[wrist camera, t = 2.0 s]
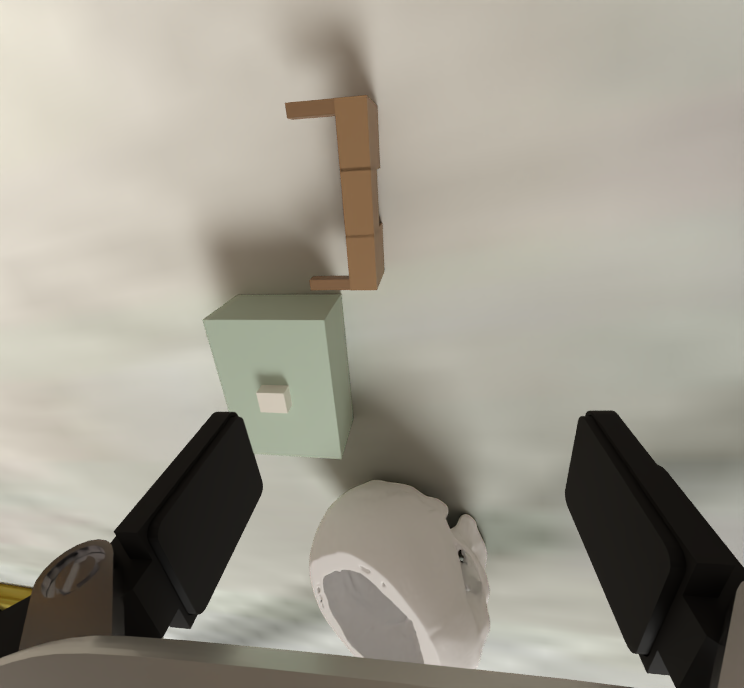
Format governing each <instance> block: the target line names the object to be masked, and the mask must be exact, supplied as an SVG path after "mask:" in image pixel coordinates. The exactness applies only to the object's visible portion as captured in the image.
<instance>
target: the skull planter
mask: <svg viewBox="0 0 744 688" xmlns="http://www.w3.org/2000/svg"><path fill="white" fill-rule="evenodd" d="M447 515H448V507H447V505H446V504H445V503H443V502H442V501H440V500H439V499H437V498H433V497H428V496H425V495H424V494H423V493H421V492H419V491H418V490H417V489H415V488H414V487H412V486H409V485H406V484H400V483H392V482H386V481H381V480H371V481H369V482H367V483H364V484H361V485H359V486H356V487H354V488H352V489H350V490H349V491H347V492H345V493H344V494H343V495H342V496H341V497H339V498H338V499H337V500H336V501H335V502H334V503H333V504H332V505H331V506H330V507H329V508H328V510H327V512H326V513H325V515H324V517H323V519H322V520H321V522H320V524H319V527H318V529H317V531H316V534H315V537H314V540H313V544H312V547H311V552H310V560H309V569H310V579H311V584H312V588H313V591H314V595H315V598H316V601H317V603H318V606H319V608H320V610H321V612H322V614H323V616H324V617H325V619H326V620H327V622H328V624H329V625H330V626H331V628H332V629H333V630H334V632H335V633H336V634H337V636H338V637H339V638H340V639H341V641H342V642H343V643H344V644H345V646H346V647H347V648H348V649H349V650H350V652H351V653H352V654H353V655H354V656H355V657H361V658H371V659H381V660H391V661H400V662H410V663H420V664H430V665H439V666H448V667H458V668H467V669H476V668H477V666H478V664H479V662H480V659H481V653H482V649H483V646H484V644H485V641H486V639H487V637H488V634H489V631H490V617H489V614H488V609H487V603H488V600H489V594H490V588H489V583H488V578H487V575H486V573H485V566H486V561H487V550H486V546H485V543H484V541H483V539H482V537H481V535H480V533H479V531H478V528H477V524H476V521H475V520H474V519H473V518H472V517H471V516H470V515H468V514H464V515H462V516H461V517H460V518H459V520H458V523H457V524H456V526H455V527H453V528H451V529H450V528H449V526H448V523H447V521H446V517H447ZM459 550H461V553H462V555H463V556H464V559H463V561H461V560H460V559H459V556H458V551H459Z"/></svg>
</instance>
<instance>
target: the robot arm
mask: <svg viewBox="0 0 744 688" xmlns="http://www.w3.org/2000/svg"><path fill="white" fill-rule="evenodd" d="M262 490H263V483H262V479H261V476H260V472H259V469H258V466H257V463H256V459H255V456H254V453H253V449H252V446H251V443H250V440H249V436H248V433H247V430H246V426H245V423H244V420H243V418H242V417H239V416H238V414H237V413H236V412H215V413H213V414H212V415H211V417H210V418H209V419H208V420H207V421H206V423H205V424H204V425H203V426H202V427H201V428H200V430H199V431H198V432H197V433H196V434H195V436H194V437H193V438H192V439H191V440H190V442H189V443H188V444H187V445H186V446H185V447H184V449H183V450H182V451H181V452H180V453H179V455H178V456H177V457H176V458H175V459H174V461H173V462H172V463H171V464H170V465H169V466H168V468H167V469H166V470H165V471H164V472H163V474H162V475H161V476H160V477H159V478H158V480H157V481H156V482H155V483H154V484H153V485H152V487H151V488H150V489H149V490H148V491H147V493H146V494H145V495H144V496H143V497H142V499H141V500H140V501H139V502H138V503H137V505H136V506H135V507H134V508H133V509H132V510H131V512H130V513H129V514H128V515H127V516H126V518H125V519H124V520H123V521H122V522H121V524H120V525H119V526H118V527H117V528H116V529H115V531H114V533H115V534H116V537H115V538H114V539H113V540H112V542H111V543H109V542H108V541H106V540H100V539H97V540H91V541H87V542H84V543H81V544H79V545H76V546H75V547H73V548H71V549H69V550H67V551H66V552H64V553H63V554H62V555H60V556H59V557H57V558H56V559H55V560H54V561H53V562H51V563H50V564H49V565H48V566H47V567H46V568H45V569H44V570H43V572H42V573H41V575H40V576H39V577H38V579H37V580H36V582H35V584H34V587H33V589H32V592H31V595H30V596H28V597H27V598H25V599H23V600H21V601H19V602H17V603H16V604H14V605H12V606H10V607H8V608H6V609H5V610H3V611H1V612H0V688H632V687H624V686H616V685H608V684H601V683H593V682H585V681H577V680H569V679H560V678H551V677H542V676H532V675H523V674H514V673H504V672H495V671H486V670H476V669H467V668H458V667H448V666H439V665H430V664H420V663H410V662H400V661H391V660H381V659H371V658H361V657H351V656H342V655H332V654H322V653H312V652H302V651H292V650H281V649H271V648H261V647H250V646H240V645H229V644H219V643H208V642H198V641H187V640H173V639H163V636H164V634H165V632H166V631H167V629H168V627H169V626H170V627H175V628H186V629H191V627H192V625H193V623H194V621H195V619H196V617H197V615H198V614H201V613H202V612H203V611H204V610H205V608H206V607H207V605H208V603H209V601H210V599H211V597H212V595H213V593H214V590H215V588H216V586H217V584H218V582H219V580H220V578H221V576H222V574H223V572H224V570H225V568H226V566H227V564H228V562H229V560H230V558H231V556H232V554H233V552H234V550H235V547H236V545H237V543H238V541H239V539H240V537H241V535H242V533H243V531H244V529H245V527H246V525H247V523H248V521H249V519H250V517H251V515H252V513H253V511H254V509H255V507H256V504H257V502H258V500H259V498H260V496H261V494H262ZM565 498H566V503H567V506H568V508H569V511H570V513H571V515H572V518H573V520H574V523H575V525H576V527H577V530H578V532H579V534H580V537H581V539H582V541H583V544H584V546H585V548H586V551H587V553H588V555H589V558H590V560H591V562H592V565H593V567H594V570H595V572H596V574H597V577H598V579H599V581H600V584H601V586H602V588H603V591H604V593H605V595H606V598H607V600H608V602H609V605H610V607H611V609H612V612H613V614H614V616H615V619H616V621H617V624H618V626H619V628H620V631H621V633H622V635H623V638H624V640H625V642H626V644H627V646H628V648H629V649H630V651H631V652H632V653H635V654H639V656H640V658H641V661H642V663H643V665H644V667H645V670H646V672H647V673H651V674H661V675H670V677H671V679H672V681H673V683H674V685H675V687H676V688H744V567H743V566H742V565H741V564H740V562H739V561H738V560H737V559H736V557H735V556H734V555H733V554H732V552H731V551H730V550H729V549H728V547H727V546H726V545H725V544H724V542H723V541H722V540H721V539H720V537H719V536H718V535H717V534H716V532H715V531H714V530H713V529H712V527H711V526H710V525H709V524H708V522H707V521H706V520H705V519H704V517H703V516H702V515H701V514H700V512H699V511H698V510H697V509H696V507H695V506H694V505H693V504H692V502H691V501H690V500H689V499H688V497H687V496H686V495H685V494H684V492H683V491H682V490H681V489H680V487H679V486H678V485H677V484H676V482H675V481H674V480H673V479H672V477H671V476H670V475H669V474H668V472H667V471H666V470H665V469H664V468H663V467H661V466H659V465H657V464H656V463H655V461H654V460H653V459H652V458H651V456H650V455H649V454H648V452H647V451H646V450H645V449H644V447H643V446H642V445H641V444H640V442H639V441H638V440H637V438H636V437H635V436H634V435H633V433H632V432H631V431H630V429H629V428H628V427H627V426H626V424H625V423H624V422H623V421H622V419H621V418H620V417H619V415H618V414H617V413H616V412H615V411H588V412H587V413H586V415H585V416H581V417H580V418H579V420H578V424H577V429H576V435H575V440H574V446H573V451H572V456H571V462H570V467H569V473H568V478H567V483H566V489H565Z"/></svg>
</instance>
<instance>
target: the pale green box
mask: <svg viewBox="0 0 744 688" xmlns="http://www.w3.org/2000/svg"><path fill="white" fill-rule="evenodd" d="M203 323H204V327H205V330H206V334H207V337H208V341H209V344H210V348H211V351H212V355H213V358H214V362H215V365H216V368H217V372H218V375H219V379H220V382H221V386H222V389H223V393H224V396H225V400H226V403H227V407H228V410H229V412H236V413H237V414H238V416H239V417H242V418H243V420H244V423H245V426H246V430H247V433H248V436H249V440H250V443H251V446H252V449H253V453H254V454H264V455H280V456H296V457H312V458H328V459H342V456H343V453H344V449H345V446H346V442H347V439H348V436H349V432H350V429H351V425H352V422H353V408H352V398H351V388H350V378H349V368H348V358H347V348H346V338H345V328H344V318H343V307H342V297H341V294H283V295H237V296H235V297H234V298H233V299H231V300H230V301H228V302H227V303H225V304H224V305H223V306H221V307H220V308H218V309H217V310H216V311H214V312H213V313H211V314H210V315H209V316H207V317H206V318H204V319H203Z"/></svg>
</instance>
